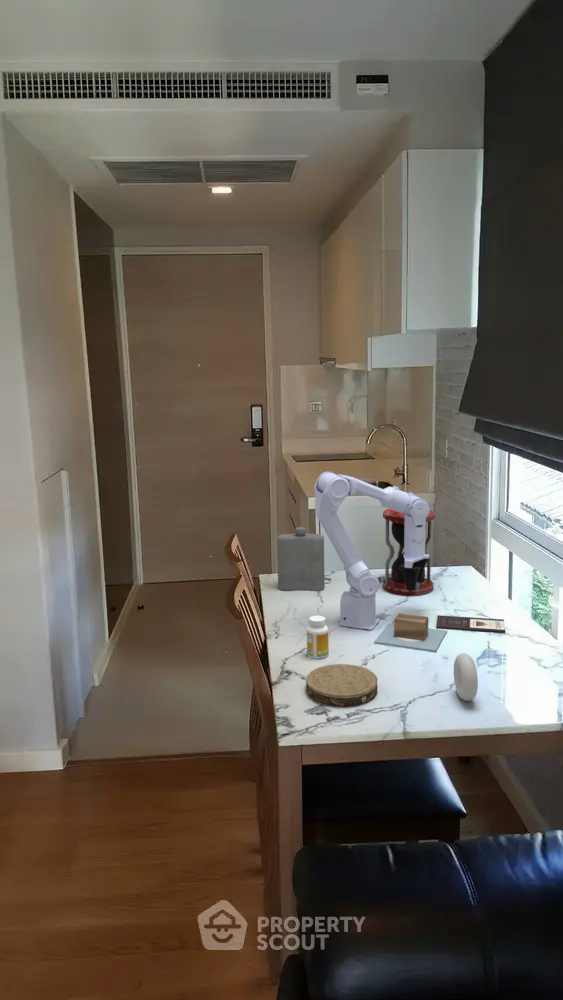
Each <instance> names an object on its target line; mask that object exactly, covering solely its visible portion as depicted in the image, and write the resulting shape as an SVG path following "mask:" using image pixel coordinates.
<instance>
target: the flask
mask: <svg viewBox="0 0 563 1000" xmlns="http://www.w3.org/2000/svg"><path fill="white" fill-rule="evenodd" d="M276 544H277V545H276V548H277V549H276V550H277V552H276V554H277V583H278V584H277V587H278V590H279V591H282V592H288V591H290V592H291V591H292V592H293V591H310V592H311V591H314V592H321V591H323V590H324V589H325V588H326V587H325V537H324V535H323V534H319V533H318V534H317V533H307V528H305V527H303V526H302V527H301V526H300V527H299V526H298V527H296V528H294V533H285V534H284V533H283V534H279V535H277V536H276ZM320 590H321V591H320Z"/></svg>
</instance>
